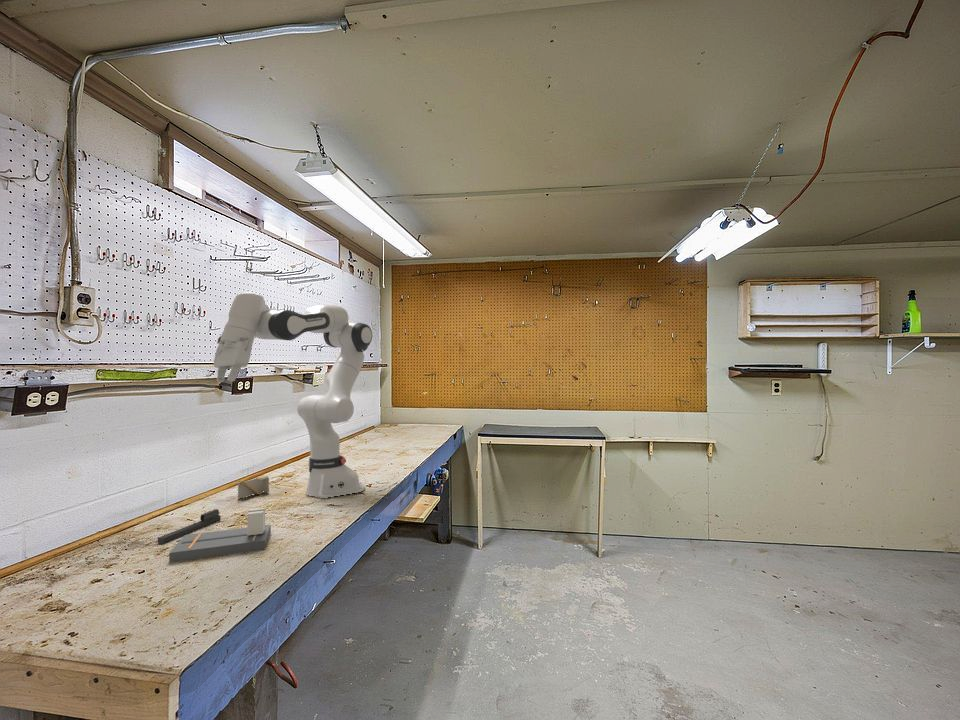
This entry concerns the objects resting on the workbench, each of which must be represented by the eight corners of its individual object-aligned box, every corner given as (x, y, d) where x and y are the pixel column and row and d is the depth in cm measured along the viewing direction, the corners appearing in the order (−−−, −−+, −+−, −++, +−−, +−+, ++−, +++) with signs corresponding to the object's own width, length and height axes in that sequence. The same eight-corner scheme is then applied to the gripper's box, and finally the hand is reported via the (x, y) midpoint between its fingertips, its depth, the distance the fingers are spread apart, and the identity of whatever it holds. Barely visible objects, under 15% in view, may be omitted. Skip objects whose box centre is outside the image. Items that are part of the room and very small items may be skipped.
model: (268, 494, 164) (269, 474, 164) (243, 502, 154) (243, 481, 154) (263, 493, 165) (263, 474, 165) (237, 500, 156) (238, 480, 156)
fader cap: (265, 528, 120) (265, 507, 120) (263, 533, 116) (263, 511, 116) (249, 530, 119) (249, 508, 119) (246, 535, 115) (247, 513, 115)
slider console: (270, 532, 124) (270, 524, 124) (264, 549, 113) (264, 539, 113) (184, 543, 117) (184, 534, 117) (169, 562, 105) (169, 552, 105)
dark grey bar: (164, 546, 116) (164, 531, 116) (157, 545, 117) (157, 530, 117) (222, 521, 134) (222, 508, 134) (215, 521, 135) (215, 508, 135)
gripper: (261, 339, 126) (248, 383, 123) (236, 344, 139) (224, 384, 136) (239, 332, 122) (225, 377, 118) (216, 339, 135) (203, 379, 131)
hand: (225, 381), depth 127 cm, fingers open, 8 cm apart
